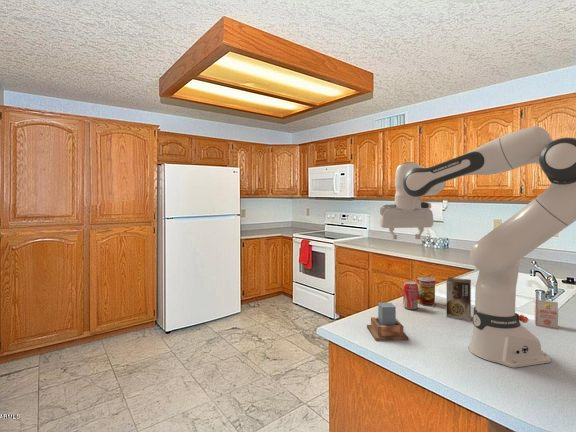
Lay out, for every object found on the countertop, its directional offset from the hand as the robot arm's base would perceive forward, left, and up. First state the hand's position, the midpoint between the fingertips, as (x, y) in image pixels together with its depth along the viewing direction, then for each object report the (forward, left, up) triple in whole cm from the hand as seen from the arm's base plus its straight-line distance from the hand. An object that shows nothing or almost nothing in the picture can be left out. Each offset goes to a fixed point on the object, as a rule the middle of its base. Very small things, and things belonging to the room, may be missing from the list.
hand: (406, 239), depth 128 cm
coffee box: (-26, -8, -35) cm, 45 cm away
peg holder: (+10, +7, -35) cm, 37 cm away
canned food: (-20, -26, -35) cm, 48 cm away
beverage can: (-10, -20, -35) cm, 42 cm away
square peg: (+10, +7, -34) cm, 36 cm away
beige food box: (-55, +3, -35) cm, 66 cm away
